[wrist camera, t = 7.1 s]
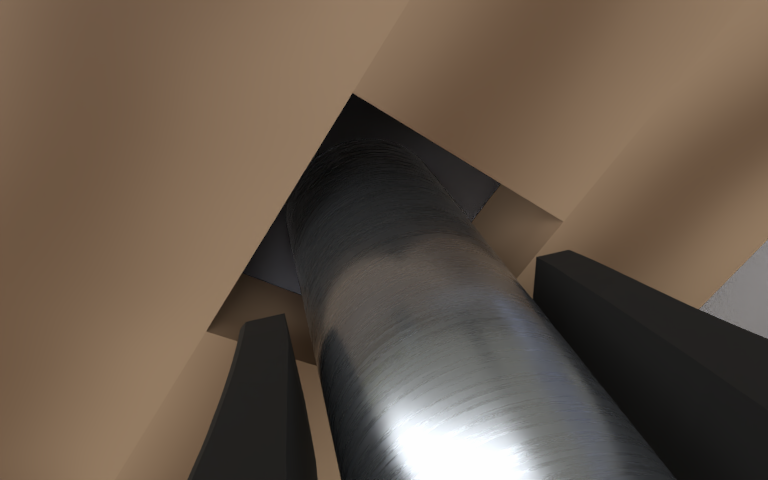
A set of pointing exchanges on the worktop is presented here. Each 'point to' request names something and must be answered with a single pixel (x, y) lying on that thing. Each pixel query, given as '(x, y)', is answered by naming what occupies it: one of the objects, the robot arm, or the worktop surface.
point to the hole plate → (292, 156)
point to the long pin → (438, 338)
